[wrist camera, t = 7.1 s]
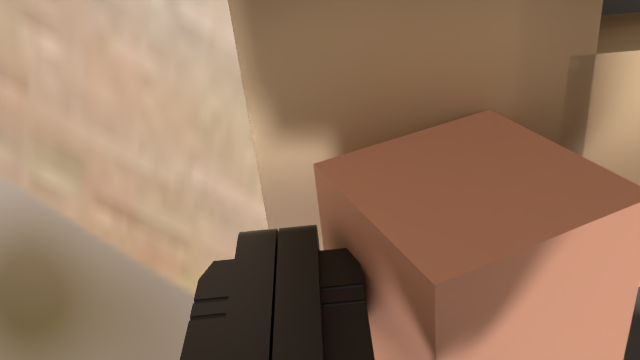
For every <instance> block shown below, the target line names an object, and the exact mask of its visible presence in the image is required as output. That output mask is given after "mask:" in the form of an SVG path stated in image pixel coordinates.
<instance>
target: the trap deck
mask: <svg viewBox="0 0 640 360" xmlns="http://www.w3.org/2000/svg"><path fill="white" fill-rule="evenodd" d="M228 4H229V9H230V15H231V21H232V26H233V32H234V37H235V43H236V49H237V54H238V60H239V65H240V71H241V77H242V82H243V88H244V93H245V99H246V105H247V110H248V116H249V121H250V127H251V133H252V138H253V144H254V149H255V155H256V161H257V166H258V172H259V177H260V183H261V189H262V194H263V200H264V205H265V211H266V217H267V222H268V228H269V229H278V231H279V228H287V227H297V226H307V225H317V230H318V238H319V246H320V251H321V250H324V247H323V239H322V231H321V223H320V215H319V207H318V199H317V191H316V183H315V175H314V167H313V164H314V163H317V162H321V161H324V160H327V159H331V158H334V157H337V156H340V155H344V154H347V153H350V152H353V151H357V150H360V149H363V148H366V147H370V146H373V145H376V144H379V143H383V142H386V141H389V140H392V139H396V138H399V137H402V136H405V135H409V134H412V133H415V132H418V131H422V130H425V129H428V128H431V127H435V126H438V125H441V124H444V123H448V122H451V121H454V120H457V119H461V118H464V117H467V116H470V115H474V114H477V113H480V112H483V111H487V110H492V111H494V112H495V113H497V114H499V115H501V116H503V117H505V118H507V119H509V120H511V121H513V122H515V123H517V124H519V125H521V126H523V127H525V128H527V129H529V130H531V131H533V132H535V133H537V134H539V135H541V136H543V137H545V138H547V139H549V140H551V141H553V142H555V143H556V144H558V145H560V146H562V147H564V148H566V149H568V150H570V151H572V152H574V153H576V154H578V155H580V156H582V157H584V158H586V159H588V160H590V161H592V162H594V163H596V164H598V165H600V166H602V167H604V168H606V169H608V170H610V171H612V172H614V173H616V174H617V175H619V176H621V177H623V178H625V179H627V180H629V181H631V182H633V183H635V184H637V185H639V186H640V0H228ZM623 360H640V283H639V288H638V292H637V297H636V302H635V307H634V311H633V316H632V321H631V326H630V330H629V335H628V340H627V345H626V349H625V354H624V359H623Z"/></svg>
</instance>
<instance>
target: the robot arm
mask: <svg viewBox="0 0 640 360" xmlns="http://www.w3.org/2000/svg"><path fill="white" fill-rule="evenodd" d="M180 360H375V358H374V351H373V344H372V338H371V331H370V325H369V318H368V312H367V305H366V298H365V292H364V286H363V279H362V272H361V266H360V263H359V262H358V261H357V259H356V258H355V257H354V256H353V255H352V254H351V252H350V251H349V250H348V249H347V248H341V249H331V250H321V251H320V246H319V238H318V230H317V225H307V226H297V227H287V228H279V231H278V229H268V230H258V231H248V232H240V233H239V235H238V241H237V247H236V254H235V259H231V260H221V261H213V263H212V264H211V265H210V266H209V268H208V269H207V270H206V271H205V272H204V274H203V275H202V276H201V277H200V279H199V280H198V285H197V289H196V293H195V297H194V304H193V306H192V310H191V315H190V321H189V323H188V327H187V332H186V336H185V341H184V345H183V349H182V353H181V357H180Z"/></svg>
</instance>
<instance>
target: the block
mask: <svg viewBox="0 0 640 360" xmlns="http://www.w3.org/2000/svg"><path fill="white" fill-rule="evenodd" d="M313 167H314V175H315V183H316V191H317V199H318V207H319V215H320V223H321V231H322V239H323V247H324V250H331V249H341V248H347V249H348V250H349V251H350V252H351V254H352V255H353V256H354V257H355V258H356V259H357V261H358V262H359V263H360V266H361V272H362V279H363V286H364V292H365V298H366V305H367V312H368V318H369V325H370V331H371V338H372V344H373V351H374V358H375V360H623V359H624V354H625V349H626V345H627V340H628V335H629V330H630V326H631V321H632V316H633V311H634V307H635V302H636V297H637V292H638V288H639V283H640V186H639V185H637V184H635V183H633V182H631V181H629V180H627V179H625V178H623V177H621V176H619V175H617V174H616V173H614V172H612V171H610V170H608V169H606V168H604V167H602V166H600V165H598V164H596V163H594V162H592V161H590V160H588V159H586V158H584V157H582V156H580V155H578V154H576V153H574V152H572V151H570V150H568V149H566V148H564V147H562V146H560V145H558V144H556V143H555V142H553V141H551V140H549V139H547V138H545V137H543V136H541V135H539V134H537V133H535V132H533V131H531V130H529V129H527V128H525V127H523V126H521V125H519V124H517V123H515V122H513V121H511V120H509V119H507V118H505V117H503V116H501V115H499V114H497V113H495V112H494V111H492V110H487V111H483V112H480V113H477V114H474V115H470V116H467V117H464V118H461V119H457V120H454V121H451V122H448V123H444V124H441V125H438V126H435V127H431V128H428V129H425V130H422V131H418V132H415V133H412V134H409V135H405V136H402V137H399V138H396V139H392V140H389V141H386V142H383V143H379V144H376V145H373V146H370V147H366V148H363V149H360V150H357V151H353V152H350V153H347V154H344V155H340V156H337V157H334V158H331V159H327V160H324V161H321V162H317V163H314V164H313Z"/></svg>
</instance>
